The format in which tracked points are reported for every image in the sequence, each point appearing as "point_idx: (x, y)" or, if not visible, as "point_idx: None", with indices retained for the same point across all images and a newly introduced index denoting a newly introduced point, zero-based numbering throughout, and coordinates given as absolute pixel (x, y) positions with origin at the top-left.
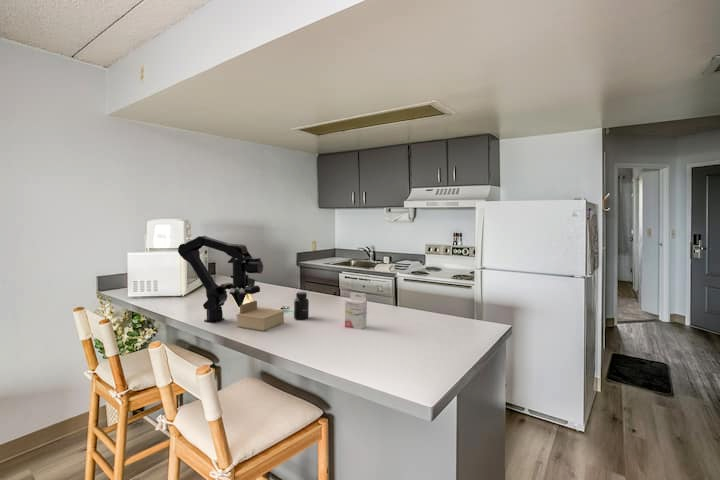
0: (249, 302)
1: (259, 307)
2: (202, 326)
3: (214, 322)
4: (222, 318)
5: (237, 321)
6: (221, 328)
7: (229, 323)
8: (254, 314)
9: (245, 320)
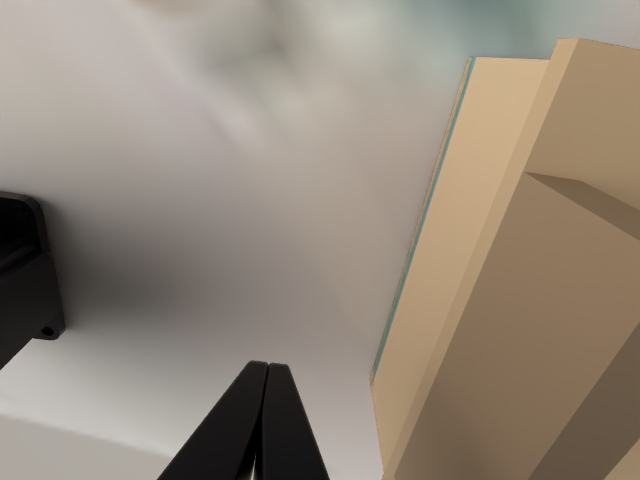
0: (540, 471)
1: (623, 68)
2: (63, 413)
3: (61, 332)
4: (47, 263)
5: (378, 429)
6: None
7: (213, 302)
8: (617, 473)
9: None
